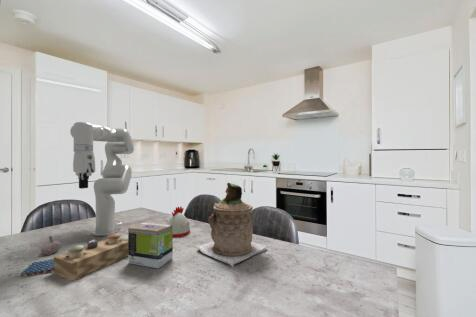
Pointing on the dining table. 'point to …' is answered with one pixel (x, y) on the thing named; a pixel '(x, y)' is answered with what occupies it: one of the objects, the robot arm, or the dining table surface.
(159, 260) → the tea box
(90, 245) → the dial
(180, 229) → the kitchen timer
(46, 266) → the woven mat
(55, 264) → the panel
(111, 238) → the knob terracotta
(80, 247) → the knob sage
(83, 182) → the robot arm
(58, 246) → the garlic bulb
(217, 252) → the cookie jar
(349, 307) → the dining table surface
